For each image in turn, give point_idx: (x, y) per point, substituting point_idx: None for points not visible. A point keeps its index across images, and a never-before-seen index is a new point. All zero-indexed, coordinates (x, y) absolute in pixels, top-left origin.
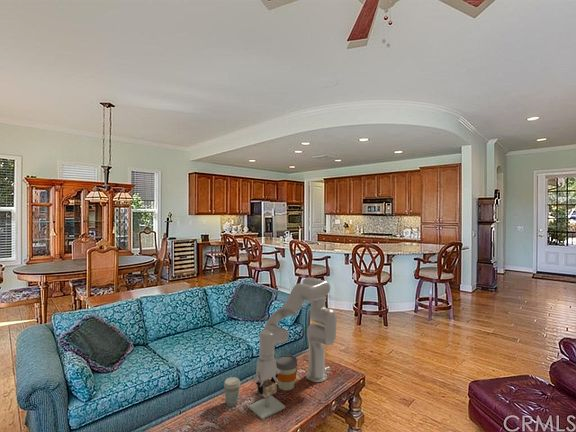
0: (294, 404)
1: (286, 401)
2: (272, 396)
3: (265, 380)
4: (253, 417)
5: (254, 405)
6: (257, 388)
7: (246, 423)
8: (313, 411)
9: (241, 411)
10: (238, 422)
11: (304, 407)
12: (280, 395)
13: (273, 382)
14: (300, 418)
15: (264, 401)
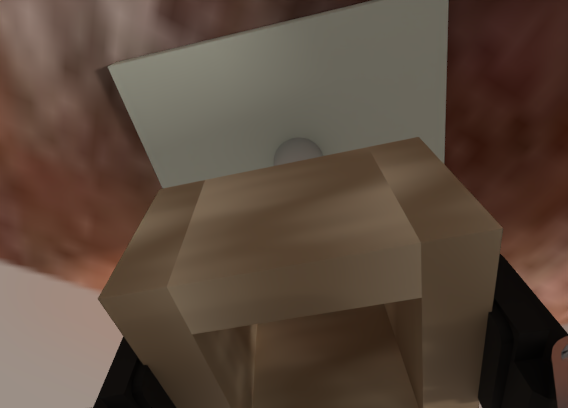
0: (532, 215)
1: (513, 149)
2: (443, 30)
3: (370, 271)
4: (140, 217)
5: (174, 98)
6: (147, 227)
7: (74, 252)
8: (565, 321)
9: (29, 93)
10: (5, 220)
11: (558, 272)
12: (551, 15)
13: (475, 390)
14: None
15: (306, 81)
